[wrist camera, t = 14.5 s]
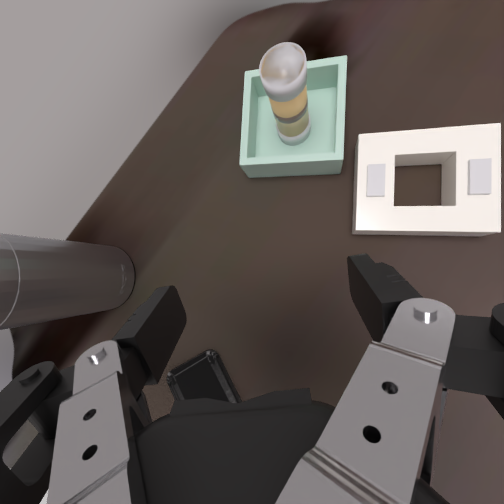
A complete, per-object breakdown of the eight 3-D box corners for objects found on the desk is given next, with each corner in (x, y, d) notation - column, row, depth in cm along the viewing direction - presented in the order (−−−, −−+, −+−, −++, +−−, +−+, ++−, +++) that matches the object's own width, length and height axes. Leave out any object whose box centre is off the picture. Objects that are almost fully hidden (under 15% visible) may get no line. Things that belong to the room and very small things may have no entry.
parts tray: (249, 177, 32) (239, 165, 28) (253, 94, 33) (245, 71, 29) (340, 173, 29) (343, 159, 25) (343, 82, 30) (346, 55, 26)
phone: (212, 348, 31) (272, 472, 28) (215, 345, 32) (274, 464, 29) (163, 375, 33) (216, 495, 30) (168, 371, 34) (219, 487, 31)
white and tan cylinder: (277, 146, 31) (257, 90, 21) (279, 116, 31) (260, 47, 21) (310, 144, 30) (305, 84, 20) (311, 112, 30) (307, 38, 20)
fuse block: (352, 234, 28) (356, 229, 25) (355, 147, 29) (359, 132, 26) (480, 236, 25) (503, 231, 22) (480, 139, 26) (503, 120, 23)
